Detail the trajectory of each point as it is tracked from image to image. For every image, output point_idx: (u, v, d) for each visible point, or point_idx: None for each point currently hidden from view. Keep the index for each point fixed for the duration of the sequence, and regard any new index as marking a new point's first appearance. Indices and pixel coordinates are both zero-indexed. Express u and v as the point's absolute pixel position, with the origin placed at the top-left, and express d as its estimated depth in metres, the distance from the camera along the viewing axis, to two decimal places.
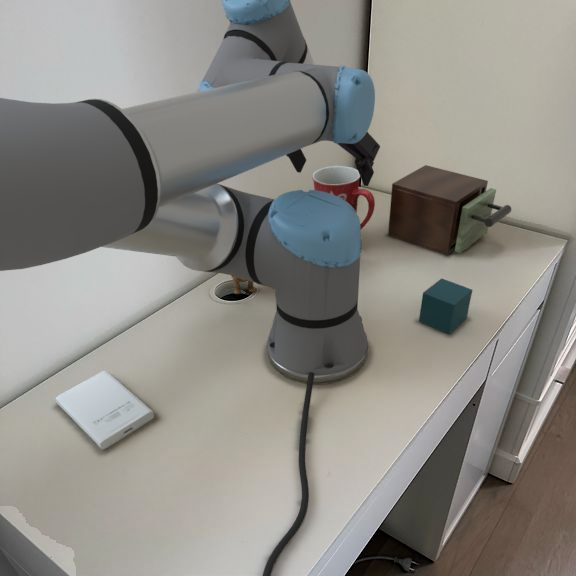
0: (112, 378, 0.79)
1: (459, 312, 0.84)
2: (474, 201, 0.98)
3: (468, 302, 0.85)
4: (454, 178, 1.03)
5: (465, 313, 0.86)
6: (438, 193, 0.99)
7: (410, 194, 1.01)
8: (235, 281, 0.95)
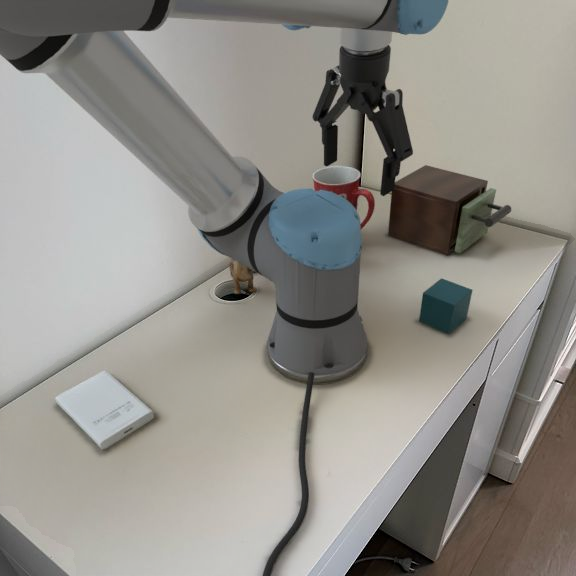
0: (112, 378, 0.79)
1: (459, 312, 0.84)
2: (474, 201, 0.98)
3: (468, 302, 0.85)
4: (454, 178, 1.03)
5: (465, 313, 0.86)
6: (438, 193, 0.99)
7: (410, 194, 1.01)
8: (235, 281, 0.95)
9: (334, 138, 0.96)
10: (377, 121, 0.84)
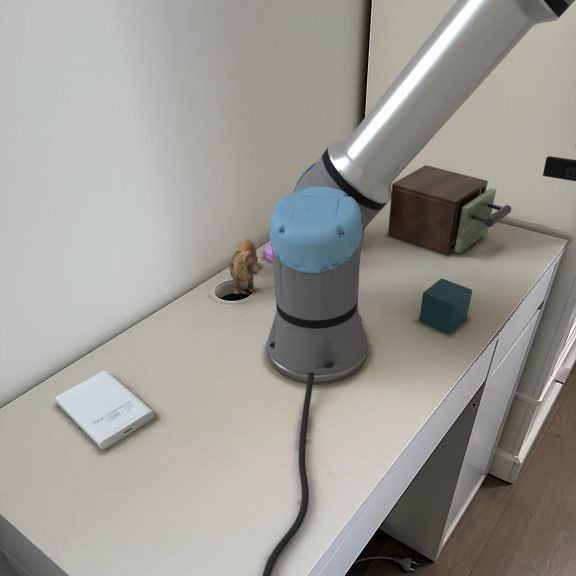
0: (112, 378, 0.79)
1: (459, 312, 0.84)
2: (474, 201, 0.98)
3: (468, 302, 0.85)
4: (454, 178, 1.03)
5: (465, 313, 0.86)
6: (438, 193, 0.99)
7: (410, 194, 1.01)
8: (235, 281, 0.95)
9: None
10: None
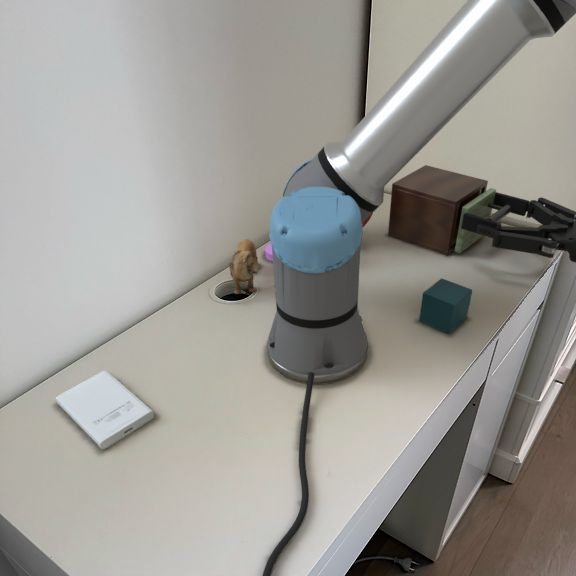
0: (112, 378, 0.79)
1: (459, 312, 0.84)
2: (474, 201, 0.98)
3: (468, 302, 0.85)
4: (454, 178, 1.03)
5: (465, 313, 0.86)
6: (438, 193, 0.99)
7: (410, 194, 1.01)
8: (235, 281, 0.95)
9: (514, 209, 1.01)
10: (536, 230, 0.91)
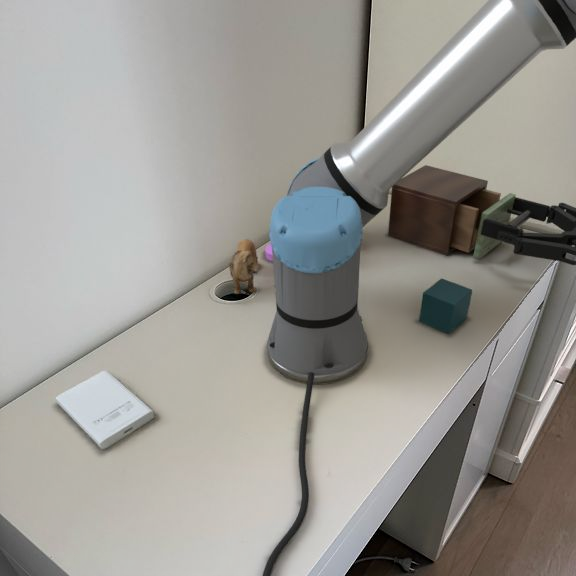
0: (112, 378, 0.79)
1: (459, 312, 0.84)
2: (494, 206, 0.96)
3: (468, 302, 0.85)
4: (454, 178, 1.03)
5: (465, 313, 0.86)
6: (438, 193, 0.99)
7: (410, 194, 1.01)
8: (235, 281, 0.95)
9: (535, 214, 0.99)
10: (558, 237, 0.89)
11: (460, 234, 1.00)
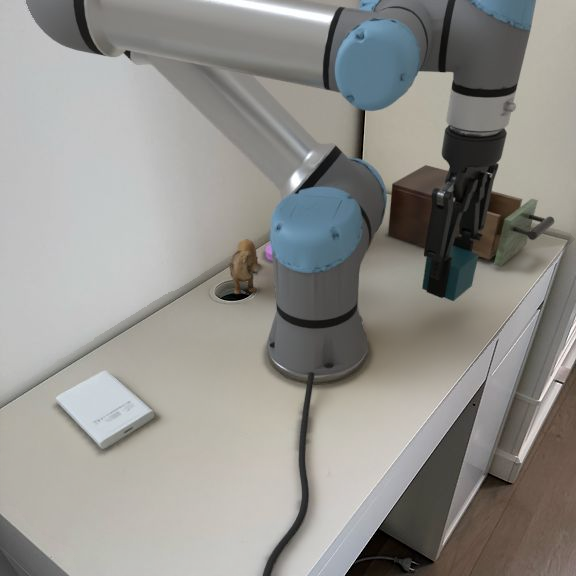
0: (113, 378, 0.79)
1: (464, 278, 0.80)
2: (516, 213, 0.93)
3: (474, 268, 0.81)
4: None
5: (470, 280, 0.82)
6: None
7: (410, 194, 1.01)
8: (235, 281, 0.95)
9: None
10: None
11: (481, 241, 0.98)
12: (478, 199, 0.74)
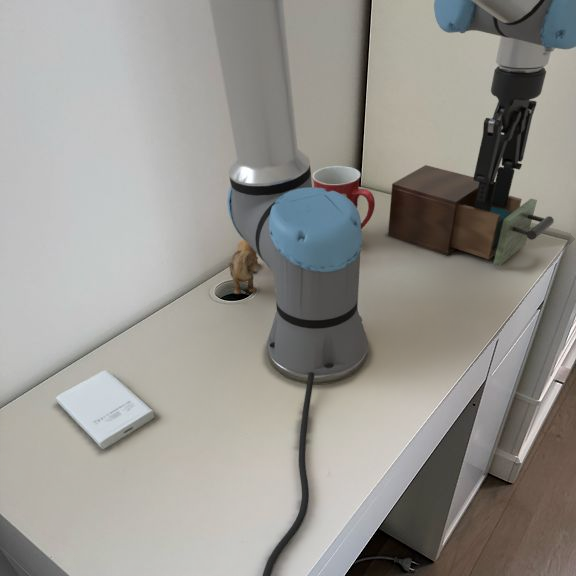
0: (113, 378, 0.79)
1: (500, 231, 0.99)
2: (515, 212, 0.93)
3: None
4: (454, 178, 1.03)
5: None
6: (438, 193, 0.99)
7: (410, 194, 1.01)
8: (235, 281, 0.95)
9: (505, 181, 0.97)
10: None
11: (480, 240, 0.98)
12: (520, 131, 0.89)
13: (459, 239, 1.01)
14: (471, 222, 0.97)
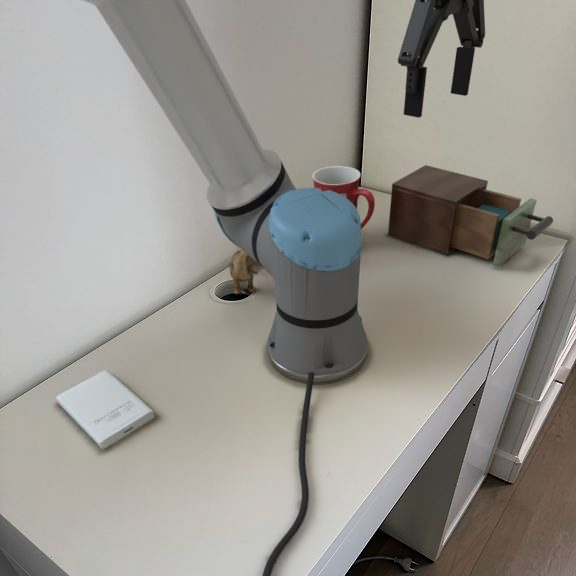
0: (113, 378, 0.79)
1: (499, 231, 0.99)
2: (515, 212, 0.94)
3: None
4: (454, 178, 1.03)
5: None
6: (438, 193, 0.99)
7: (410, 194, 1.01)
8: (235, 281, 0.95)
9: (465, 62, 0.85)
10: None
11: (480, 240, 0.98)
12: (468, 9, 0.78)
13: (459, 239, 1.01)
14: (470, 222, 0.97)
